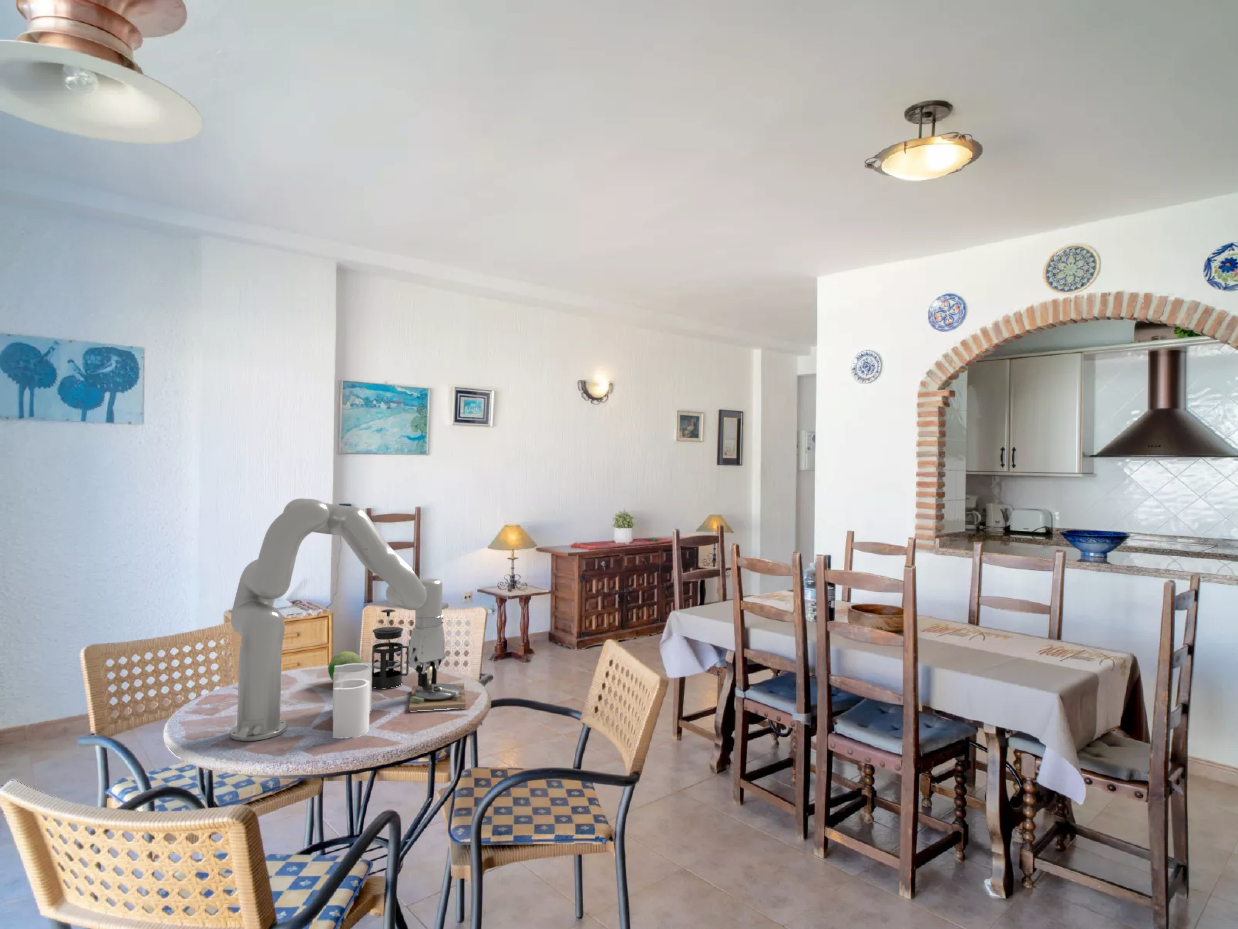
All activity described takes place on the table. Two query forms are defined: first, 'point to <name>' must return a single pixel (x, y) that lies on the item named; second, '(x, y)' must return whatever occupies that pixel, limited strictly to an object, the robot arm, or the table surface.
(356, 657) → the decorative ball
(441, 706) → the dial board
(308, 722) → the table surface
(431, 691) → the dial
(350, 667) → the white utensil holder
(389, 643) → the french press
